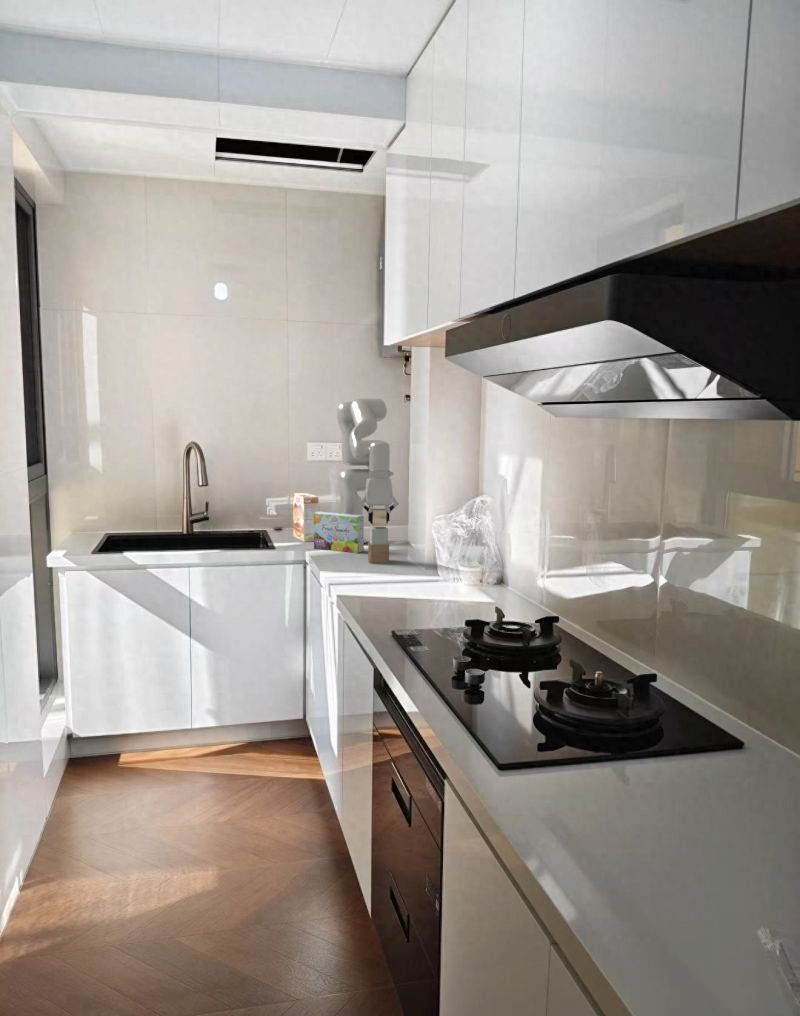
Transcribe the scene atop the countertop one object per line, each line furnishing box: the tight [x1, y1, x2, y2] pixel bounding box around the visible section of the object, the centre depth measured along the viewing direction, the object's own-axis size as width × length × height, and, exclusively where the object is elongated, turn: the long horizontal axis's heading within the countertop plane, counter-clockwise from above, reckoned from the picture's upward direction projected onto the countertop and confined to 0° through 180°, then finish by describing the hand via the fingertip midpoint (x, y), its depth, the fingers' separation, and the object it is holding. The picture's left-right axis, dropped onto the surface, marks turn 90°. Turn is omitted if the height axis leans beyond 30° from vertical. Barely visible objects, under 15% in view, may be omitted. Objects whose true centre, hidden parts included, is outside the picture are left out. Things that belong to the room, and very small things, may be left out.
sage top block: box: [369, 526, 389, 545], centre depth 315 cm, size 6×6×6 cm
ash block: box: [371, 507, 387, 527], centre depth 314 cm, size 5×5×6 cm
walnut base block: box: [367, 541, 390, 564], centre depth 316 cm, size 7×7×7 cm
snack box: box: [313, 510, 365, 554], centre depth 339 cm, size 21×6×15 cm, turn 62°
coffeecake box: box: [292, 492, 319, 543], centre depth 365 cm, size 15×7×20 cm, turn 25°
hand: (378, 522), depth 314 cm, fingers closed on ash block, 5 cm apart
